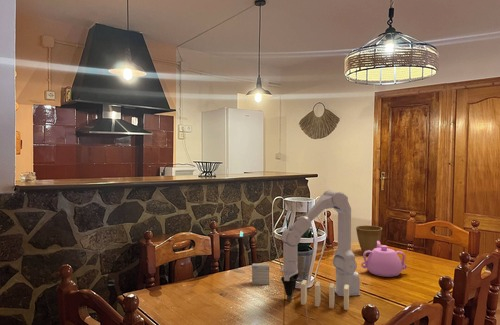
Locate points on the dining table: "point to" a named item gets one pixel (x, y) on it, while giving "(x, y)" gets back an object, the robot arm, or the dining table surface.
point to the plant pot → (368, 237)
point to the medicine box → (260, 274)
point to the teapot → (384, 261)
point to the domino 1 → (290, 296)
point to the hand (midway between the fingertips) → (290, 293)
